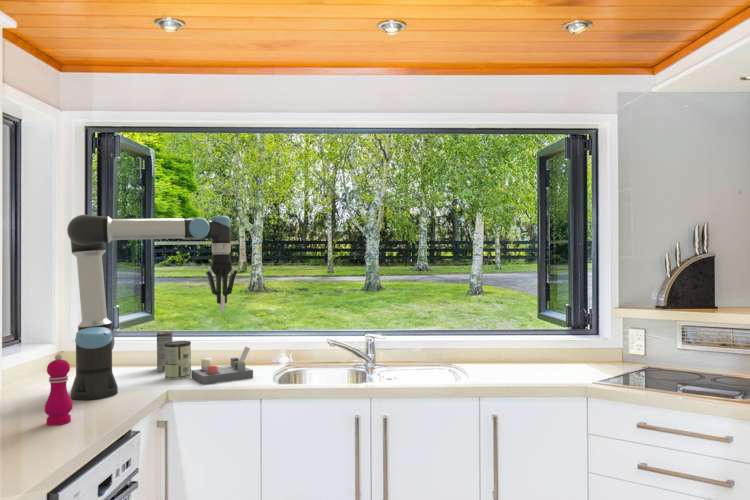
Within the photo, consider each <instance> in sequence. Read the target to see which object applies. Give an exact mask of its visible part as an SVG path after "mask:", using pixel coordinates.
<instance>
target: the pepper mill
mask: <svg viewBox="0 0 750 500" xmlns="http://www.w3.org/2000/svg"><path fill="white" fill-rule="evenodd" d="M62 358H63V356H62V355H61V354H59V353H58V354H55V356H54V359H55V360H52V361H50V362H49V363H48V364H47V366H46V373H47V374H48V375H49V377H48V383H50V392H49V395H48V396H47V397H48V398H47V400H46V402H45V405H44V413H45V414H46V415H47V417H46V425H47V426H61V425H67V424H69V423H70V422H72V421H71V420H72V419H71V418H72V416H71V414H70V412H71V411H72V410H73V401H72V398H71V397H70V395H69V392H68V389H67V381H69V375H68V373H69V372H70V370H71V365H70V363H69V362H68V361H67V360H66V359H62Z"/></svg>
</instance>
